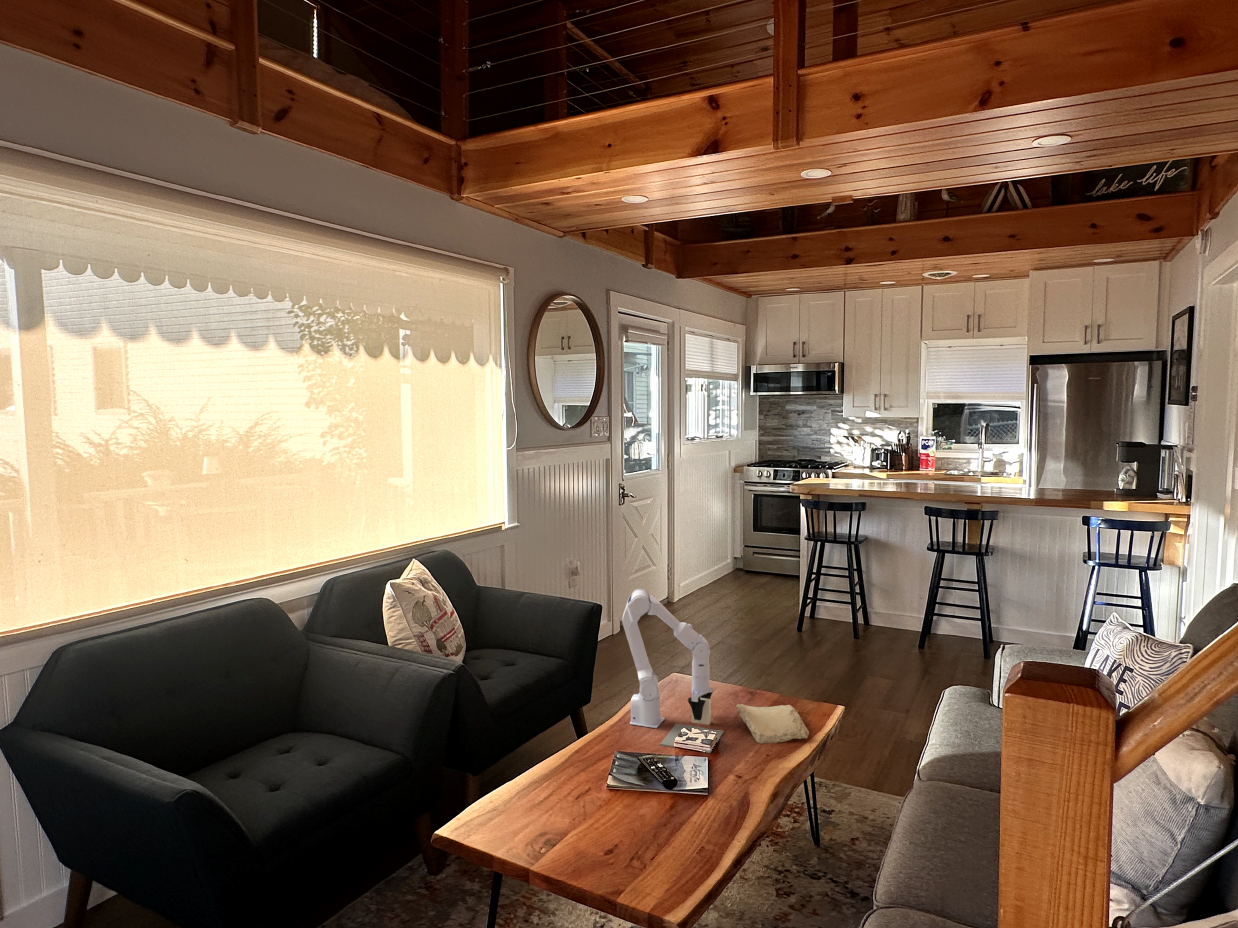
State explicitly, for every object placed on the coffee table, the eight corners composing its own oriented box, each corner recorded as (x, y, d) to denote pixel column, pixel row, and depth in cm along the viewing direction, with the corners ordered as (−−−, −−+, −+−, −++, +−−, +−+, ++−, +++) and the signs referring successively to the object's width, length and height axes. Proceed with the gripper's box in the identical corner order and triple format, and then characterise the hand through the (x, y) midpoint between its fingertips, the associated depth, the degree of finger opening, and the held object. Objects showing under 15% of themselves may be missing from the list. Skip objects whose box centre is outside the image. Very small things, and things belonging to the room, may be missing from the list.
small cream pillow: (746, 747, 242) (811, 740, 242) (744, 724, 241) (808, 716, 241) (734, 718, 266) (793, 712, 266) (732, 697, 266) (791, 690, 266)
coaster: (691, 722, 259) (691, 698, 258) (693, 719, 261) (693, 696, 260) (709, 724, 257) (708, 701, 256) (710, 722, 259) (710, 698, 258)
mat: (660, 745, 242) (660, 743, 242) (676, 724, 257) (676, 723, 257) (710, 753, 236) (710, 751, 236) (723, 732, 251) (723, 730, 251)
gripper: (706, 683, 249) (706, 725, 250) (718, 669, 263) (718, 708, 264) (685, 681, 252) (685, 722, 253) (698, 666, 265) (698, 705, 266)
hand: (701, 715), depth 258 cm, fingers open, 7 cm apart
